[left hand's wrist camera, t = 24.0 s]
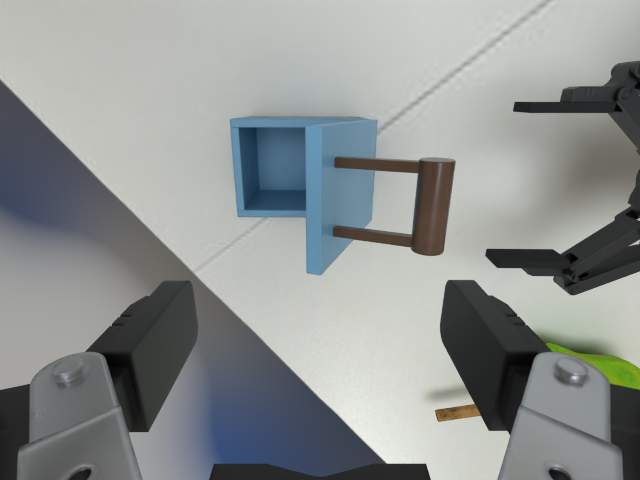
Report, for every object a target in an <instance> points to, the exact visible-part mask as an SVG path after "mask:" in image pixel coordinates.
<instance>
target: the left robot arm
mask: <svg viewBox="0 0 640 480" xmlns="http://www.w3.org/2000/svg"><path fill="white" fill-rule="evenodd" d="M440 333H441V338H442V342H443V344H444V346H445V348H446V350H447V352H448V354H449V356H450V357H451V359H452V361H453V363H454V365H455V367H456V369H457V371H458V373H459V375H460V377H461V378H462V380H463V382H464V384H465V386H466V388H467V390H468V392H469V394H470V396H471V397H472V399H473V401H474V403H475V405H476V407H477V409H478V411H479V413H480V415H481V417H482V418H483V420H484V422H485V424H486V426H487V428H488V430H489V431H508V432H509V434H510V439H509V442H508V446H507V449H506V452H505V456H504V459H503V462H502V466H501V469H500V472H499V476H498V479H497V480H640V390H639V389H635V388H630V387H625V386H620V385H615V384H610V383H609V381H608V379H607V378H606V376H605V375H604V374H603V373H602V372H601V371H600V370H599V369H597V368H596V367H594V366H593V365H591V364H590V363H588V362H586V361H584V360H582V359H580V358H577V357H574V356H572V355H568V354H564V353H558V352H552V351H551V349H550V348H549V347H548V346H547V345H546V344H545V343H544V342H543V341H542V340H541V339H540V338H539V337H538V336H537V335H536V334H535V333H534V332H533V331H532V330H531V329H530V328H529V327H528V325H525V322H524V321H523V320H522V319H521V318H520V317H517V314H516V313H515V312H514V311H513V310H512V309H511V308H510V307H509V306H508V305H507V304H506V303H504V302H502V301H501V300H499V299H497V298H495V297H494V296H488V295H487V294H486V293H485V292H484V290H483V289H482V288H481V287H480V286H479V285H478V284H477V283H476V282H475V281H474V280H448V281H447V283H446V286H445V292H444V300H443V307H442V314H441V322H440ZM197 335H198V321H197V314H196V307H195V300H194V292H193V287H192V284H191V282H190V281H163V282H162V283H161V284H160V285H159V286H158V287H157V289H156V290H155V291H154V292H153V293H152V294H151V295H150V296H145V297H143V298H142V299H140V300H138V301H136V302H135V303H133V304H131V305H130V306H129V307H128V308H127V309H126V310H125V311H124V312H123V313H122V314H121V316H120V317H118V318H117V319H116V320H115V321H114V322H113V324H112V326H110V327H109V328H108V329H107V330H106V331H105V332H104V333H103V334H102V335H101V336H100V337H99V338H98V339H97V340H96V341H95V342H94V343H93V344H92V345H91V346H90V347H89V348H88V349H87V350H86V351H85V352H82V353H76V354H72V355H68V356H66V357H63V358H60V359H58V360H56V361H54V362H52V363H50V364H49V365H47V366H46V367H44V368H43V369H41V370H40V371H39V372H38V373H37V374H36V375H35V376H34V378H33V379H32V381H31V383H30V384H27V385H23V386H18V387H13V388H8V389H3V390H0V480H143V479H142V476H141V473H140V469H139V466H138V462H137V459H136V456H135V452H134V449H133V446H132V442H131V439H130V435H129V432H149V430H150V428H151V426H152V424H153V422H154V420H155V418H156V417H157V415H158V413H159V411H160V409H161V407H162V405H163V403H164V402H165V400H166V398H167V396H168V394H169V392H170V390H171V388H172V386H173V385H174V383H175V381H176V379H177V377H178V375H179V373H180V371H181V369H182V368H183V366H184V364H185V362H186V360H187V358H188V356H189V354H190V353H191V351H192V349H193V347H194V345H195V343H196V340H197ZM209 480H431V479H430V476H429V472H428V469H427V466H426V464H371V465H368V466H364V467H360V468H356V469H352V470H348V471H345V472H341V473H337V474H333V475H329V476H325V477H315V476H311V475H307V474H303V473H299V472H296V471H291V470H288V469H284V468H280V467H276V466H272V465H269V464H214V466H213V469H212V472H211V476H210V479H209Z"/></svg>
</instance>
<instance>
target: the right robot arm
mask: <svg viewBox="0 0 640 480" xmlns="http://www.w3.org/2000/svg"><path fill="white" fill-rule="evenodd" d="M611 76H612V77H611V79H610V80H609V82H608V83H607V84H605V85H604V86H601V87H568V88H566V89H563V91H562V95H561V99H560V102H515V104H514V109H513V111H514V112H527V113H608V114H609V115H610V116H611V117H612V118H613V120H614V121H615V122H616V123H617V124H618V126H619V127H620V128H621V129H622V130H623V132H624V133H625V134H626V135H627V136H628V137H629V139H630V140H631V141H632V142H633V143H634V145H635V146H636V147H637V148H638V150H637V153H638V154H639V155H640V96H639V95H640V61H634V62H625V63H618V64H617V65H615V66H614V67H613V69H612V70H611ZM638 94H639V95H638ZM628 203H629V204H631V207H629V208H627V209H626V210H624V211H623V212H621V213H619V214H618V215H616V216H615V220H614V221H613V222H612V223H610V224H608V225H607V226H605V227H603V228H602V229H600V230H599V231H597V232H595V233H594V234H592V235H591V236H589V237H587V238H586V239H584V240H583V241H581V242H579V243H578V244H576V245H575V246H573V247H571V248H570V249H568V250H566V251H565V252H563V253H562V254H559V253H557V252H556V251H554V250H553V249H487V250H486V255H485V256H486V257H487V258H488V259H489V260H490V261H491V262H492V263H493V264H494V265H495V266H496V267H497V268H522V269H523V270H524V271H525V272H526V273H527V274H529V275H532V276H554V278H553V280H554V282H555V283H556V284H558V285H559V286H560V287H561V288H562V289H564V290H565V291H566V292H567V293H569V294H570V295H577V294H579V293H582V292H585V291H587V290H590V289H593V288H596V287H598V286H601V285H604V284H607V283H609V282H612V281H615V280H617V279H620V278H623V277H626V276H628V275H631V274H634V273H636V272H639V271H640V242H639V244H638V245H632V246H629V245H631V244H633V243H634V242H636V241H638V240H640V221H638V220H636V219H638V218H640V170H639V171H638V174H637V177H636V187H635V189H634V190H633V192H632V193H631V195H630V198H629V201H628ZM628 246H629V247H628Z"/></svg>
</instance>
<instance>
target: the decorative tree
mask: <svg viewBox="0 0 640 480" xmlns="http://www.w3.org/2000/svg"><path fill="white" fill-rule="evenodd" d="M546 345H547V346H548V347H549V348H550V349H551V351H552V352H558V353H564V354H568V355H572V356H574V357H577V358H580V359H582V360H584V361H586V362H588V363H590V364H591V365H593V366H594V367H596V368H597V369H599V370H600V371H601V372H602V373H603V374H604V375H605V376H606V378H607V379H608V381H609V383H610V384H615V385H620V386H625V387H630V388H635V389H639V390H640V369H639V368H638V367H636V366H635V365H633V364H631V363H630V362H628V361H626V360H623V359H621V358H618V357H615V356H608V355H595V354H582V353H576V352H574V351H571V350H569V349H566V348H564V347H561V346H559V345H556V344H552V343H546ZM435 412H436V417H437V420H438V422H440V421H447V420H454V419H461V418H468V417H475V416H481V415H480V413H479V411H478V409H477V407H476V405H475V404H472V405H466V406H459V407H452V408H445V409H439V410H435Z"/></svg>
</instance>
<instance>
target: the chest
mask: <svg viewBox="0 0 640 480" xmlns="http://www.w3.org/2000/svg"><path fill="white" fill-rule="evenodd" d="M358 120H370V119H365V118H361V117H244V118H235V119H230V126H231V139H232V152H233V164H234V177H235V190H236V202H237V213H238V217H306V145H305V126H307V125H317V124H327V123H338V122H348V121H358Z"/></svg>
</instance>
